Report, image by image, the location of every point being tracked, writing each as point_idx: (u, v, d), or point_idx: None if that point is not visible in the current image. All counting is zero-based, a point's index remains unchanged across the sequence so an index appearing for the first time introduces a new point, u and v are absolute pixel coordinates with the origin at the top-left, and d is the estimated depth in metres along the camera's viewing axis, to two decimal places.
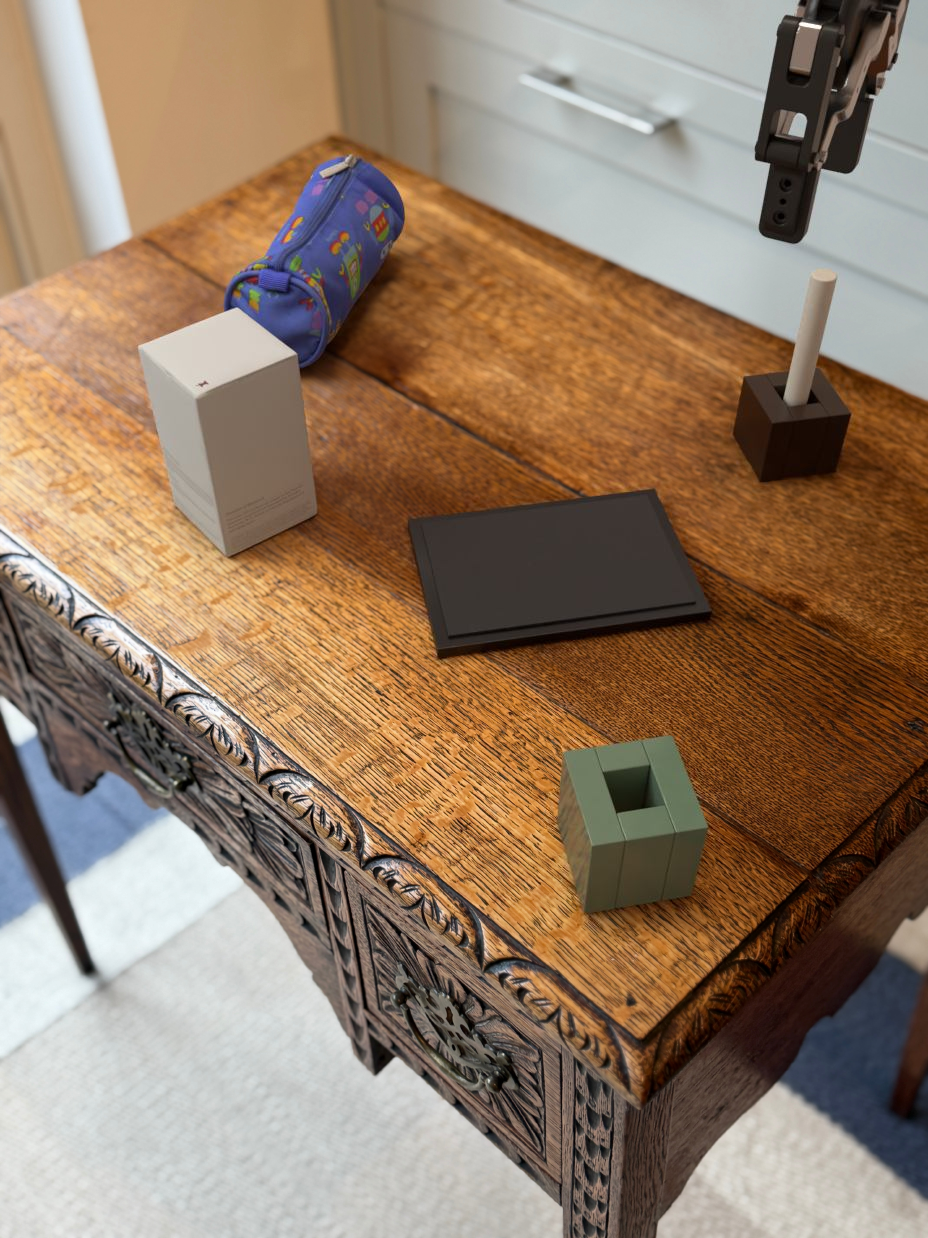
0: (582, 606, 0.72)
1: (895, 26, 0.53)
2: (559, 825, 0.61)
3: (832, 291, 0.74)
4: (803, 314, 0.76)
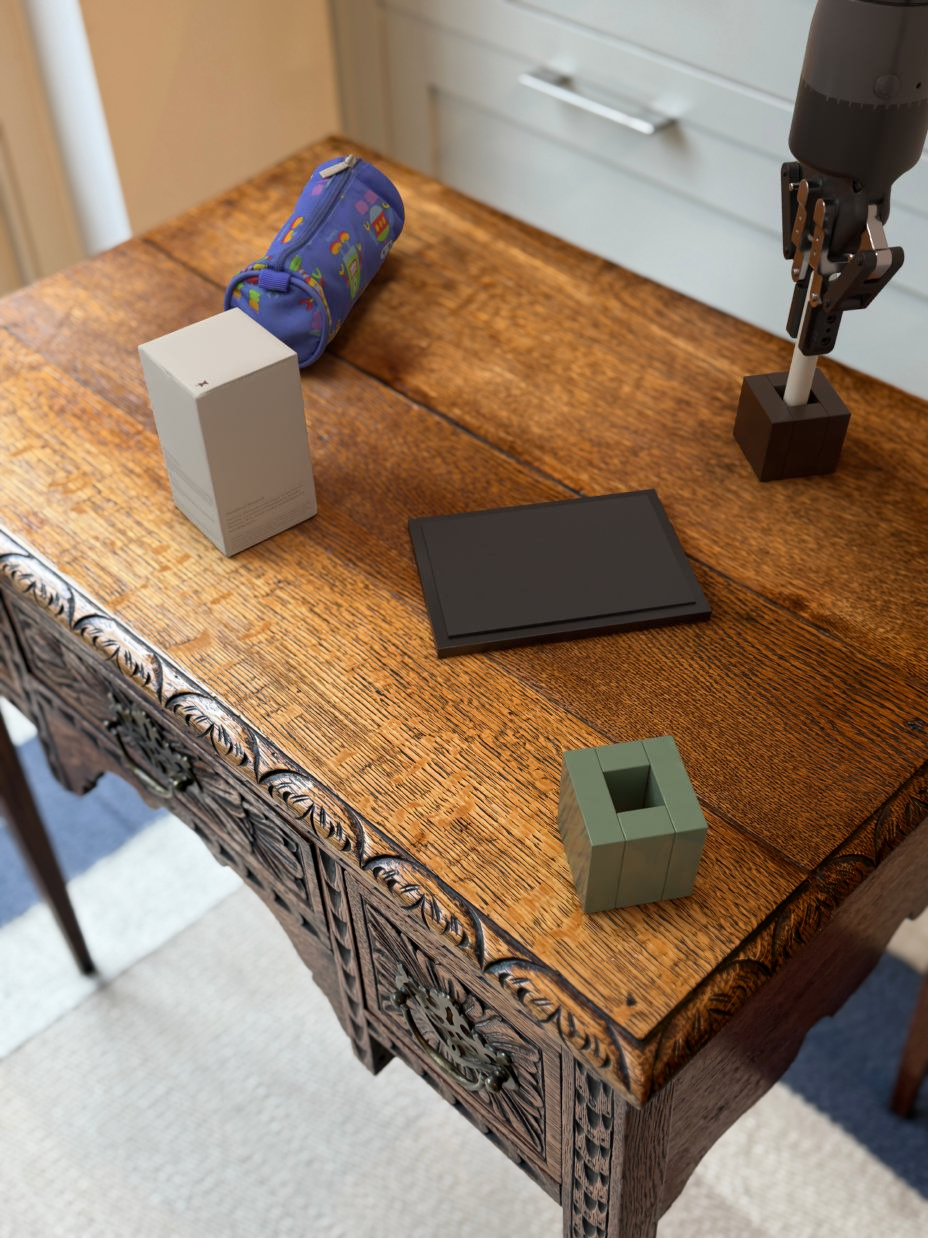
0: (582, 606, 0.72)
1: None
2: (559, 825, 0.61)
3: None
4: (803, 314, 0.76)
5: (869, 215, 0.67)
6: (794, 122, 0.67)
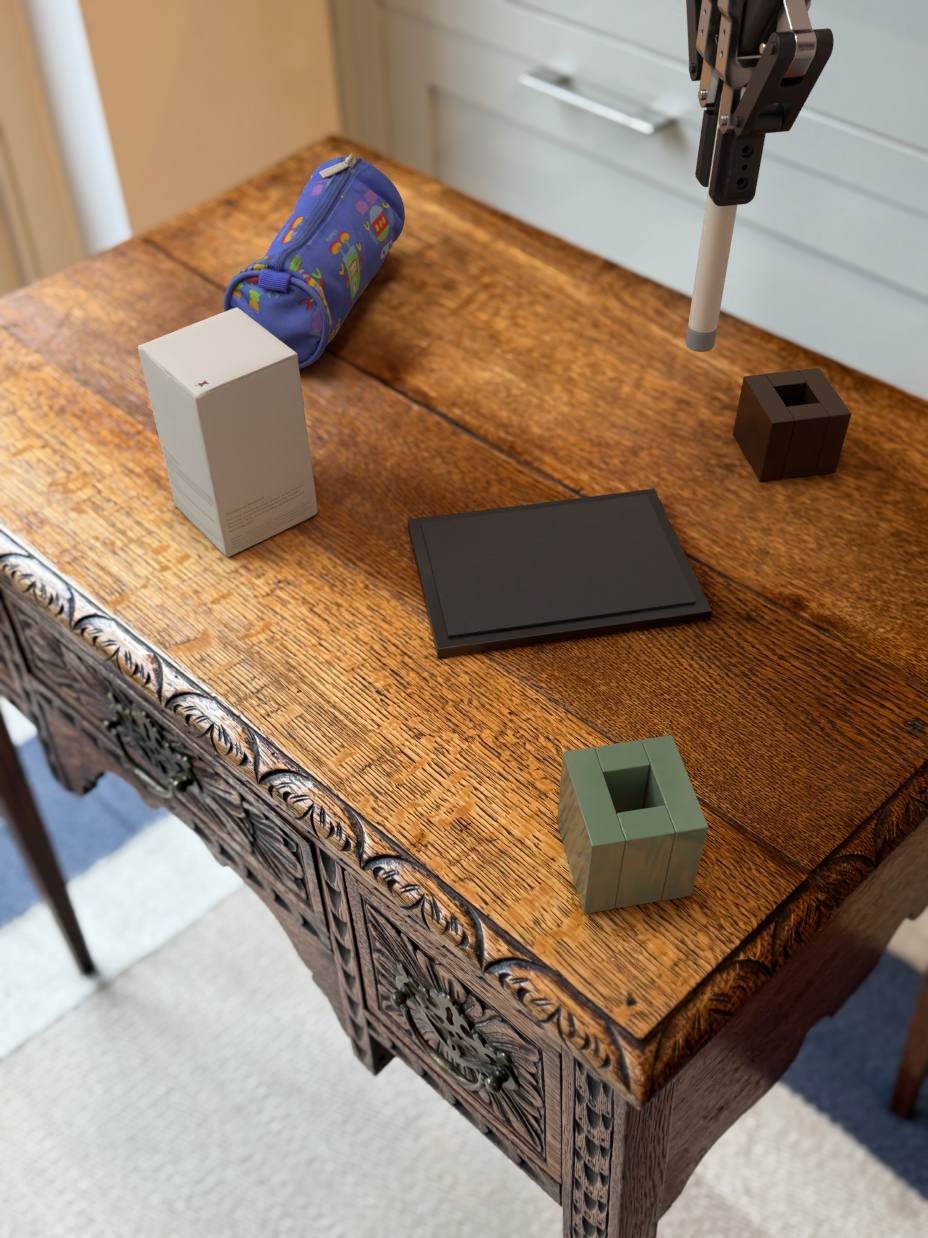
0: (582, 606, 0.72)
1: None
2: (559, 825, 0.61)
3: None
4: (714, 150, 0.59)
5: None
6: None
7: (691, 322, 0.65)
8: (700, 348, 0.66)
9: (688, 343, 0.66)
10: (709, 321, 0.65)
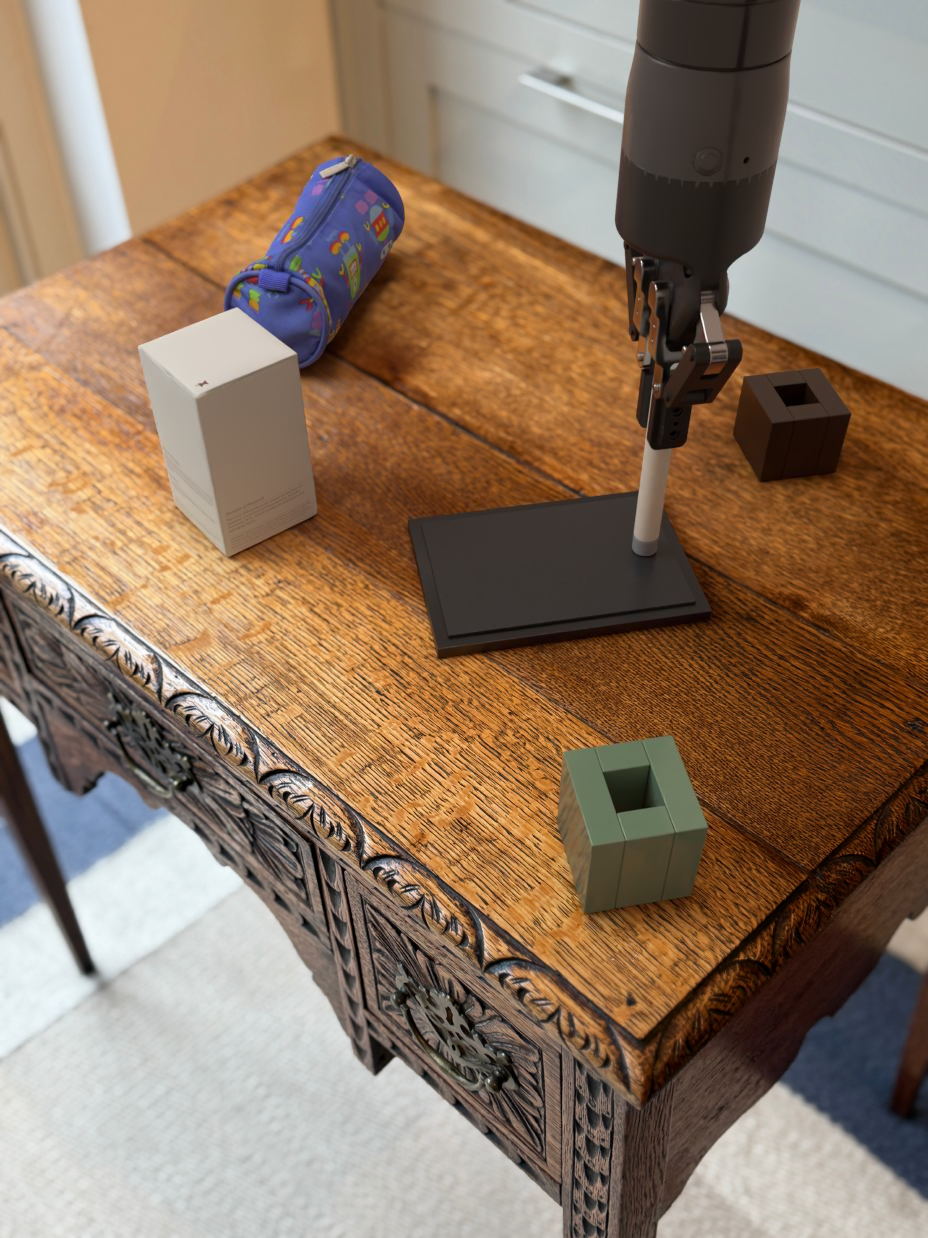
0: (582, 606, 0.72)
1: None
2: (559, 825, 0.61)
3: None
4: (650, 403, 0.67)
5: (703, 303, 0.59)
6: (617, 196, 0.59)
7: (636, 532, 0.74)
8: (644, 553, 0.75)
9: (633, 548, 0.75)
10: (651, 533, 0.74)
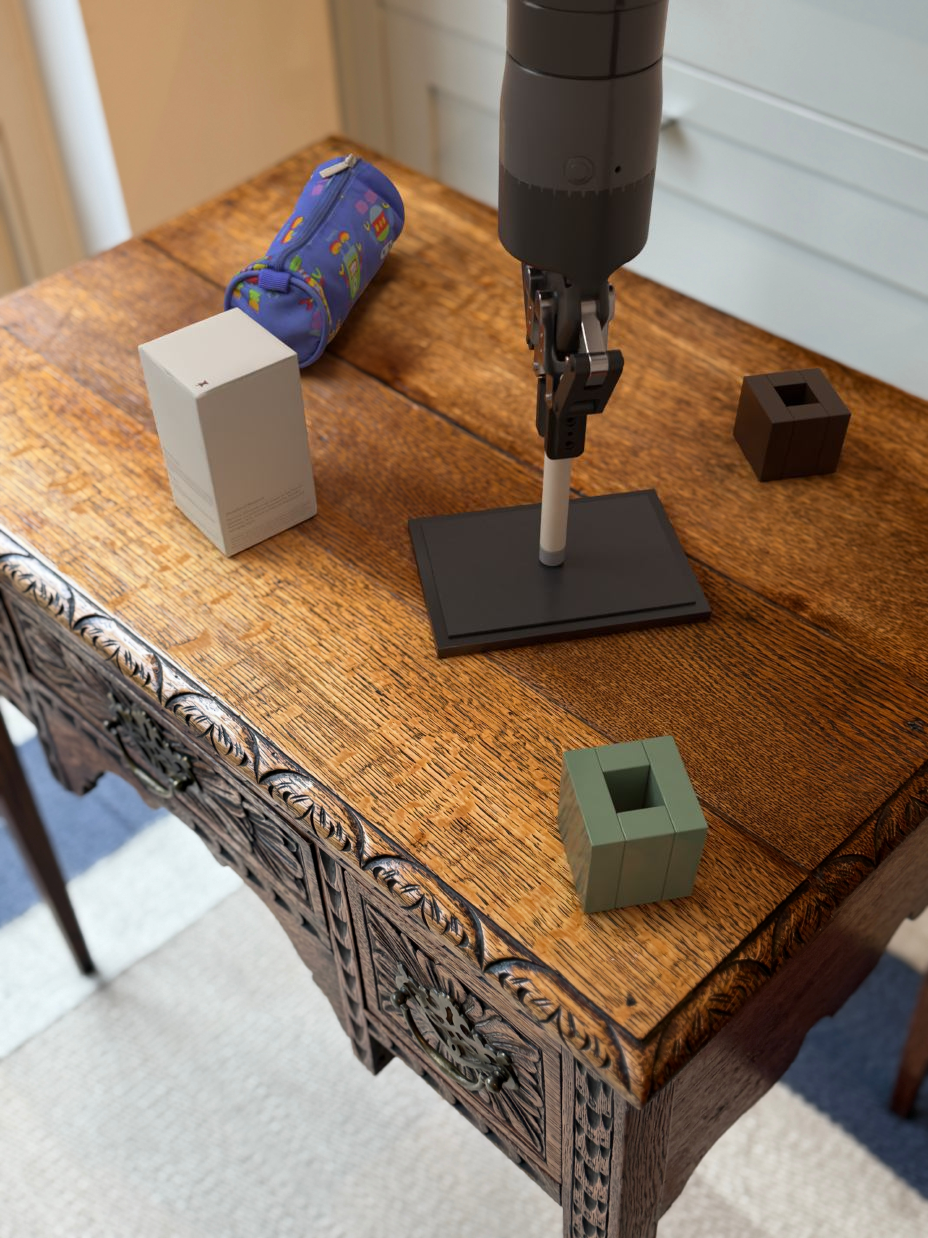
0: (582, 606, 0.72)
1: None
2: (559, 825, 0.61)
3: None
4: None
5: (585, 313, 0.58)
6: (498, 205, 0.58)
7: (541, 542, 0.73)
8: (550, 563, 0.74)
9: (540, 558, 0.74)
10: (556, 543, 0.73)
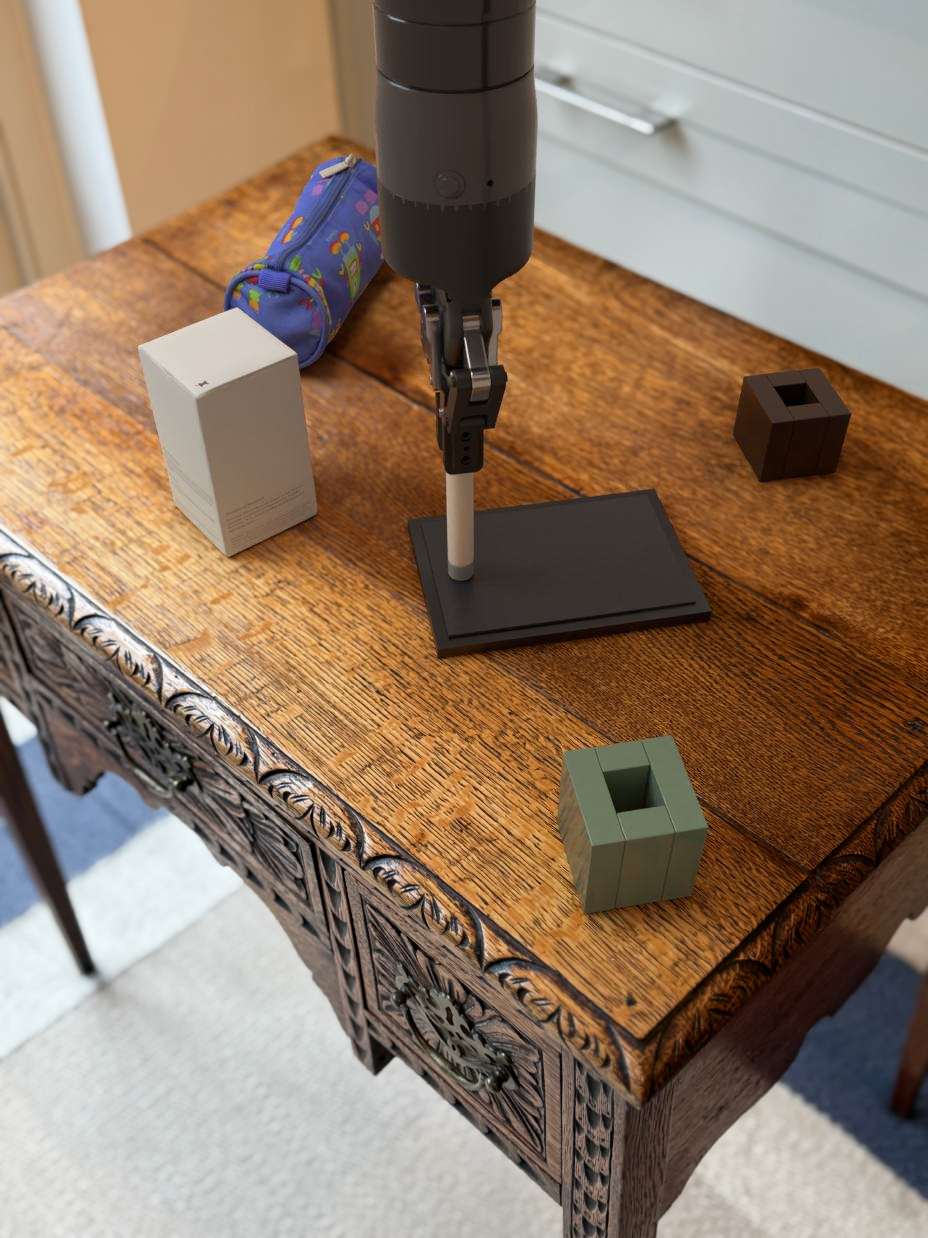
0: (582, 606, 0.72)
1: (491, 297, 0.61)
2: (559, 825, 0.61)
3: None
4: None
5: (468, 328, 0.57)
6: (379, 219, 0.57)
7: (449, 557, 0.73)
8: (459, 578, 0.73)
9: (449, 572, 0.74)
10: (463, 557, 0.72)
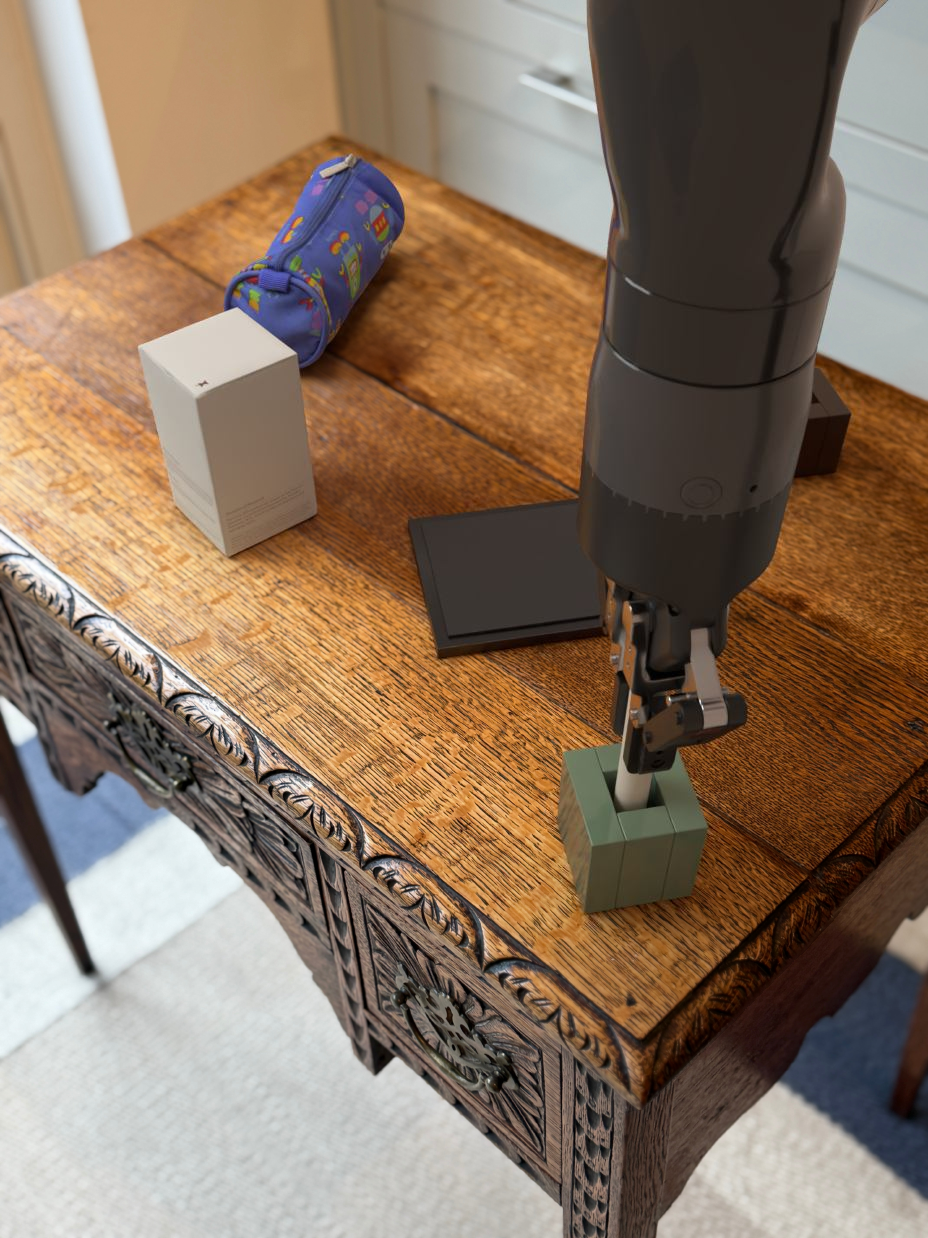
0: (582, 606, 0.72)
1: None
2: (559, 825, 0.61)
3: None
4: (626, 717, 0.52)
5: (695, 645, 0.44)
6: (579, 502, 0.43)
7: None
8: None
9: None
10: None
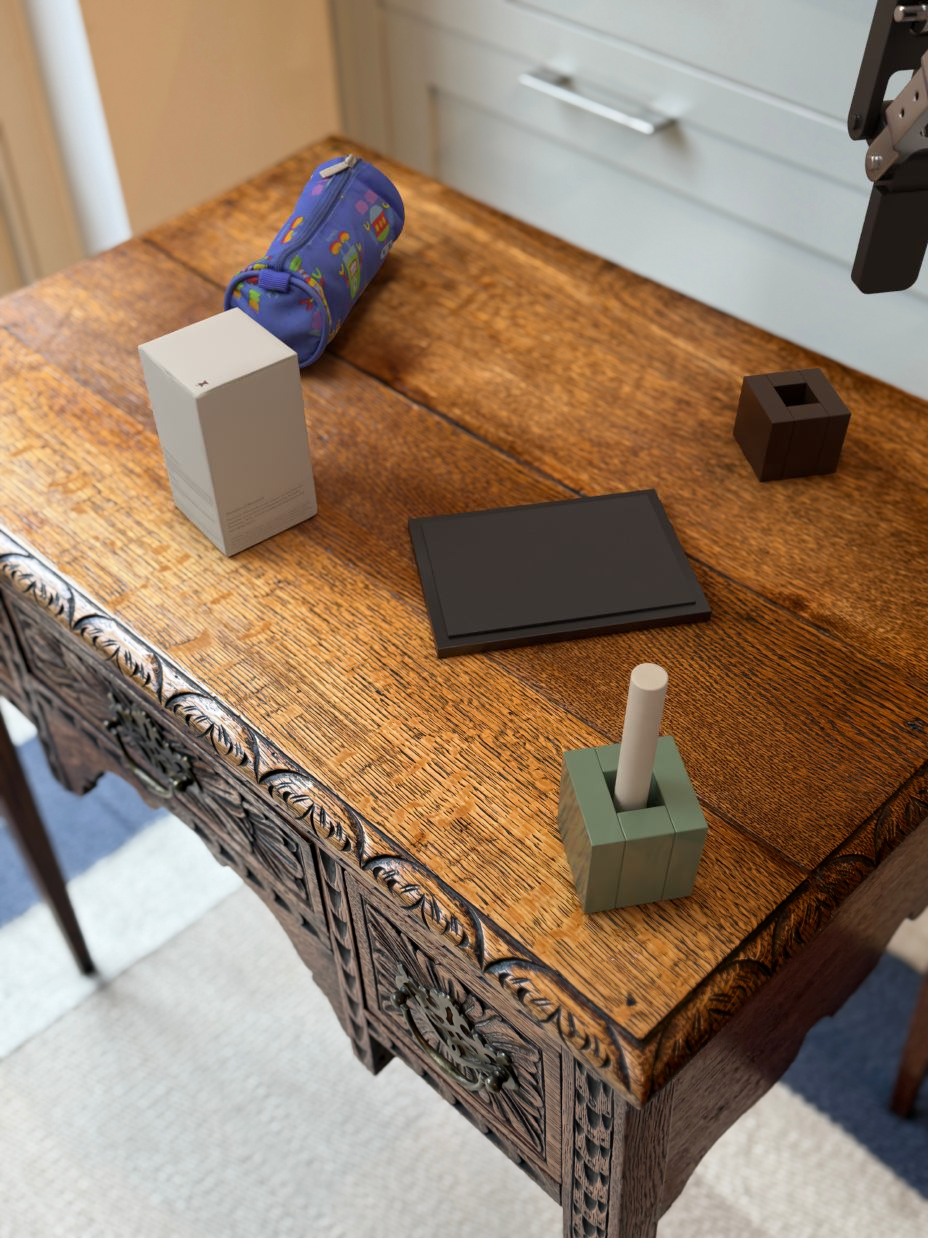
0: (582, 606, 0.72)
1: None
2: (559, 825, 0.61)
3: (662, 699, 0.51)
4: (625, 719, 0.52)
5: None
6: None
7: None
8: None
9: None
10: None
